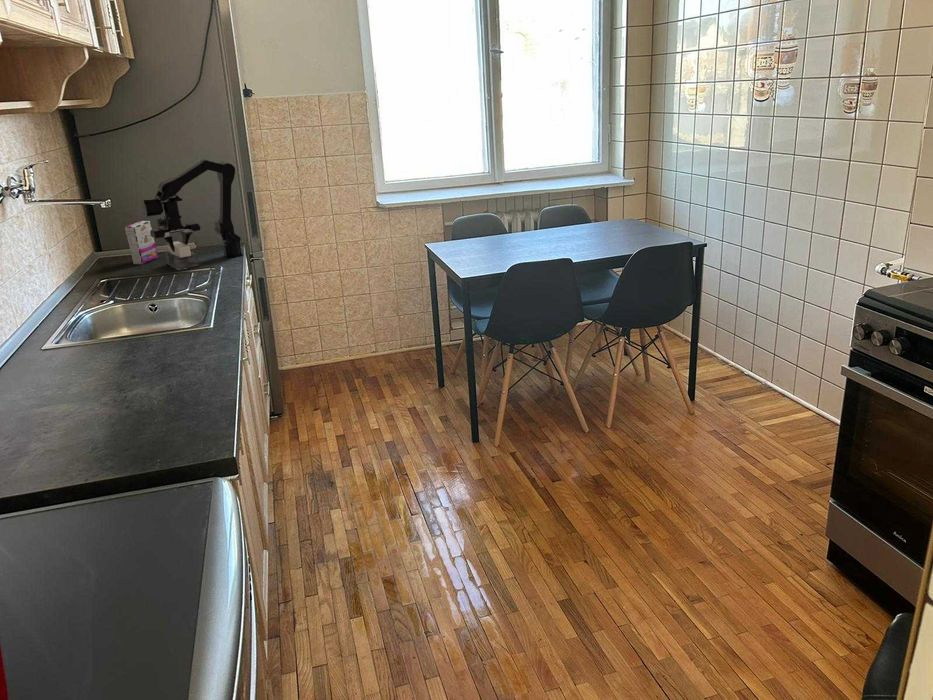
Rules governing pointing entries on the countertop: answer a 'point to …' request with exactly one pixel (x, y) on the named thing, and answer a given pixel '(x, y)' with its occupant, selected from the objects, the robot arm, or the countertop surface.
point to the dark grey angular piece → (181, 261)
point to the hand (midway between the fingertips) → (179, 250)
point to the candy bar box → (141, 242)
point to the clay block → (180, 249)
